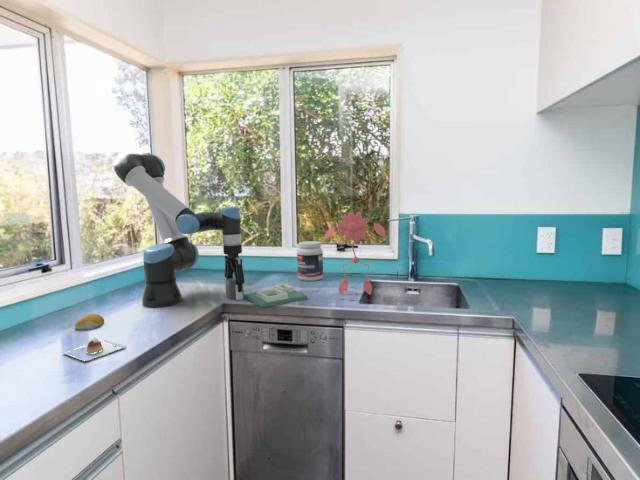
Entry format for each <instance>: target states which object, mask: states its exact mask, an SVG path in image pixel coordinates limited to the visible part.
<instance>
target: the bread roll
mask: <svg viewBox="0 0 640 480" xmlns="http://www.w3.org/2000/svg"><path fill="white" fill-rule="evenodd" d="M103 323H105V318H104V317H103V316H102V315H101V314H98V313H89V314H86V315H84V316H82V317H81V318H79V319H78V320H77V321H76V322H75V324H74V328H75V329H76V330H77V331H78V330H79V331H84V330H83V329H88V330H93V329H92V328H94V329H96V327H97V328H99V327H101V326H102V325H103ZM100 325H101V326H100ZM98 326H99V327H98Z"/></svg>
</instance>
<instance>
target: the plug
mask: <svg viewBox="0 0 640 480" xmlns="http://www.w3.org/2000/svg"><path fill="white" fill-rule="evenodd" d="M224 279H225V281H224V282H225V297H226V299H227V300H230V301H231V300H236V287H235V283H236V280H235V277H234V278H229V279H226V278H224ZM244 284H245V283H243V284H242V288H243V289H244ZM244 292H245V291H243V299H245V298H244V294H245V293H244Z"/></svg>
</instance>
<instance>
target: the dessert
mask: <svg viewBox="0 0 640 480" xmlns="http://www.w3.org/2000/svg"><path fill="white" fill-rule="evenodd" d="M102 341H104V342H107V343H110V344H112V345H115V346H118V347H121V348H120V349H121V350H124V349H125V348H127V346H126V345H123V344H120V343H117V342H113V341H110V340H107V339H101V340H100V339H99V338H97V337H94V338H93V339H90V340H89V342H88V343H87V344H85V345H82V346H79V347H76V348H73V349H70V350H67V351H64V352H62V354H63V355H66V356H69V357H71V358H74V359H76V360H79V361H81V360H82V359H83V358H81V359H80V357H78V356H76V357H75V355H73V354H70V355H69V354H67V352H70V351H73V350H76V349H79V348H82V347H86V346H87V348H86V351H85V352H88V353H94V352H99V351H101V350H103V349H104V347H103V343H101V342H102ZM120 349H119V348H116V349H115V350H111V351H108V352H106V353H103V354H100V355H98V356H95V357H93V358H92V357H91V358H90V359H87V360H86V359H84V360H82V362H85V360H86V361H88V360H90V361H92V360H91V359H93V360H95V359H94V358H96V359H98V358H97V357H99V358H101V357H100V356H102V357H103V355H104V356H106V355H105V354H107V355H109V354H108V353H110V354H112V353H111V352H113V353H115V352H118V351H121V350H120ZM117 350H118V351H117ZM114 351H115V352H114ZM72 355H73V356H72ZM77 357H78V358H77ZM88 362H89V361H88ZM85 363H86V362H85Z"/></svg>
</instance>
